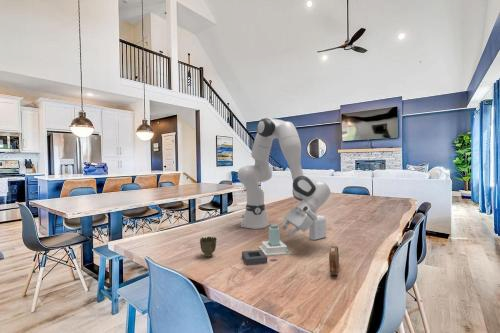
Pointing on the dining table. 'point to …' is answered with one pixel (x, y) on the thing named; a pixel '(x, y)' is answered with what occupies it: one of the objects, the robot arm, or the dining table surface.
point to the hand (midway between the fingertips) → (286, 231)
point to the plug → (274, 235)
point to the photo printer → (318, 228)
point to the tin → (334, 260)
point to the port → (274, 249)
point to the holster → (254, 257)
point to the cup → (208, 245)
